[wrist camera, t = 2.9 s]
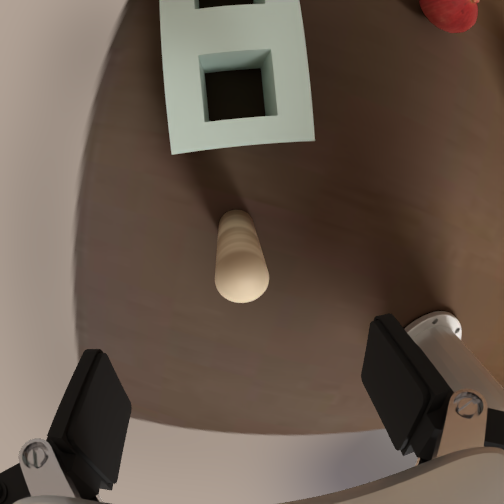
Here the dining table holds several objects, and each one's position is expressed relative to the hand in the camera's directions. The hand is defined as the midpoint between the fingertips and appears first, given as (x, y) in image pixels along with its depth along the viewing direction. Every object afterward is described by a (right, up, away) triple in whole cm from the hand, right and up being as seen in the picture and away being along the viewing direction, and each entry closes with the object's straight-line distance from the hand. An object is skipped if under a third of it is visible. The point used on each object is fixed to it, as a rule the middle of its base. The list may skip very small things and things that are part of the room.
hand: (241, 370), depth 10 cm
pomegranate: (+18, +28, +10) cm, 35 cm away
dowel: (-1, +6, +16) cm, 18 cm away
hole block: (-1, +20, +11) cm, 23 cm away
